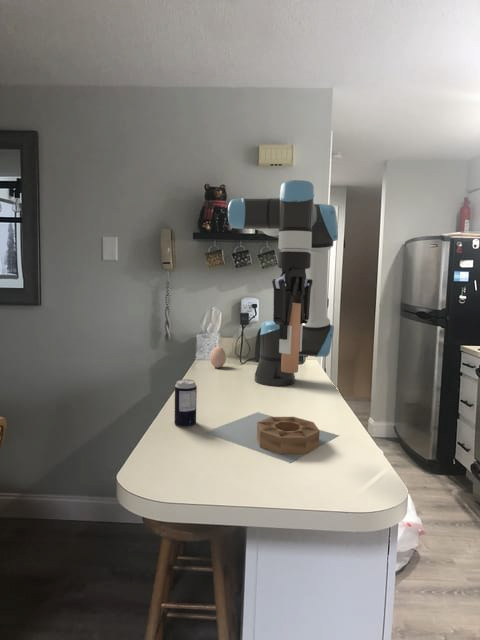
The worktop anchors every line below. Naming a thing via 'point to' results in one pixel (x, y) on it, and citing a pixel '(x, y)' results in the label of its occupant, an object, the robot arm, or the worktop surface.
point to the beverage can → (185, 403)
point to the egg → (218, 357)
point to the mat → (246, 435)
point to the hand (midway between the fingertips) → (290, 351)
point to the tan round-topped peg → (293, 342)
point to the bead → (287, 435)
